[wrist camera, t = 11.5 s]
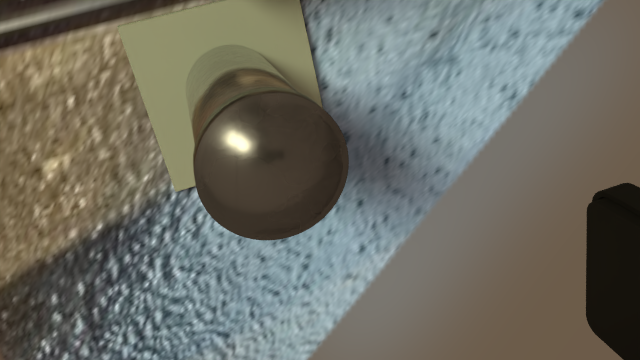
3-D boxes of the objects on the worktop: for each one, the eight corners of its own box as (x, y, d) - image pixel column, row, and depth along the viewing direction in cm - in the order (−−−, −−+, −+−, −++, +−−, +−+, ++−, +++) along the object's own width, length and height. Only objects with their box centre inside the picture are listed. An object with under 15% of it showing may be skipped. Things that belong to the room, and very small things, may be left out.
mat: (118, 26, 27) (117, 27, 27) (293, -18, 29) (295, -17, 28) (175, 188, 31) (175, 191, 31) (328, 143, 32) (330, 145, 32)
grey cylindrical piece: (168, 54, 28) (173, 118, 17) (268, 29, 29) (332, 75, 18) (198, 149, 30) (219, 259, 19) (290, 123, 31) (360, 214, 20)
